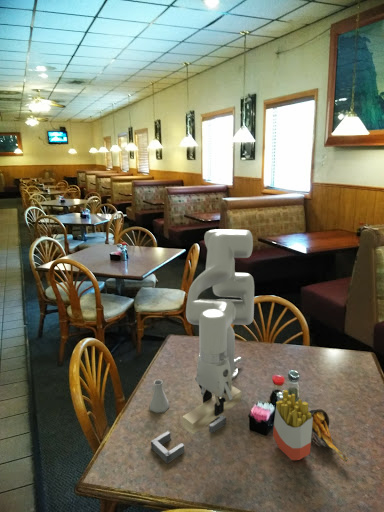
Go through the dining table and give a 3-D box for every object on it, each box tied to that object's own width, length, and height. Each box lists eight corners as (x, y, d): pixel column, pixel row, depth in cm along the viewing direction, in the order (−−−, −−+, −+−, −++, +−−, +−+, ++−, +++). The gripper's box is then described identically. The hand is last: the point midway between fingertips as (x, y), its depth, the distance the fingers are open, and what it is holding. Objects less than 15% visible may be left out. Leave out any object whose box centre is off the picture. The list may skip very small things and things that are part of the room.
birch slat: (231, 394, 115) (231, 385, 114) (241, 400, 112) (241, 391, 111) (182, 426, 102) (182, 416, 101) (192, 434, 99) (192, 423, 99)
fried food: (317, 405, 123) (364, 422, 107) (313, 440, 121) (360, 462, 105) (296, 403, 119) (342, 419, 103) (292, 439, 117) (337, 462, 101)
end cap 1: (168, 437, 117) (168, 430, 116) (184, 451, 111) (184, 445, 110) (151, 447, 113) (150, 441, 112) (167, 463, 107) (166, 456, 106)
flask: (166, 414, 127) (165, 389, 124) (146, 412, 128) (144, 387, 126) (171, 401, 134) (170, 377, 131) (152, 399, 135) (151, 375, 133)
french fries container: (298, 467, 105) (302, 413, 100) (271, 442, 114) (274, 392, 109) (309, 460, 107) (313, 407, 102) (282, 437, 116) (285, 387, 111)
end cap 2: (211, 433, 118) (211, 426, 117) (195, 420, 124) (195, 414, 123) (225, 423, 122) (226, 417, 121) (209, 411, 128) (209, 405, 127)
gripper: (245, 360, 98) (243, 418, 103) (202, 338, 110) (202, 391, 115) (226, 371, 94) (225, 431, 99) (183, 347, 106) (184, 401, 111)
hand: (213, 409), depth 107 cm, fingers closed on birch slat, 4 cm apart
